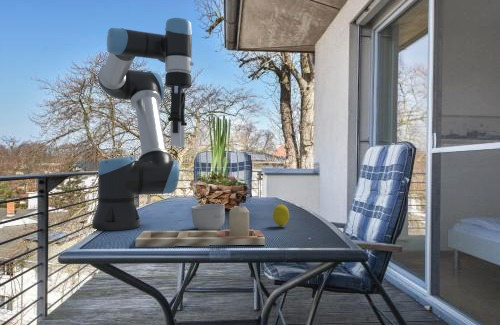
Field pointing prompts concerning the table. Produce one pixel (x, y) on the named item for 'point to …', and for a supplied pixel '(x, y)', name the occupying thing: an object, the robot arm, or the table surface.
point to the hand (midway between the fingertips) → (177, 146)
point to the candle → (239, 221)
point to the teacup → (208, 216)
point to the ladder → (196, 238)
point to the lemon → (281, 215)
